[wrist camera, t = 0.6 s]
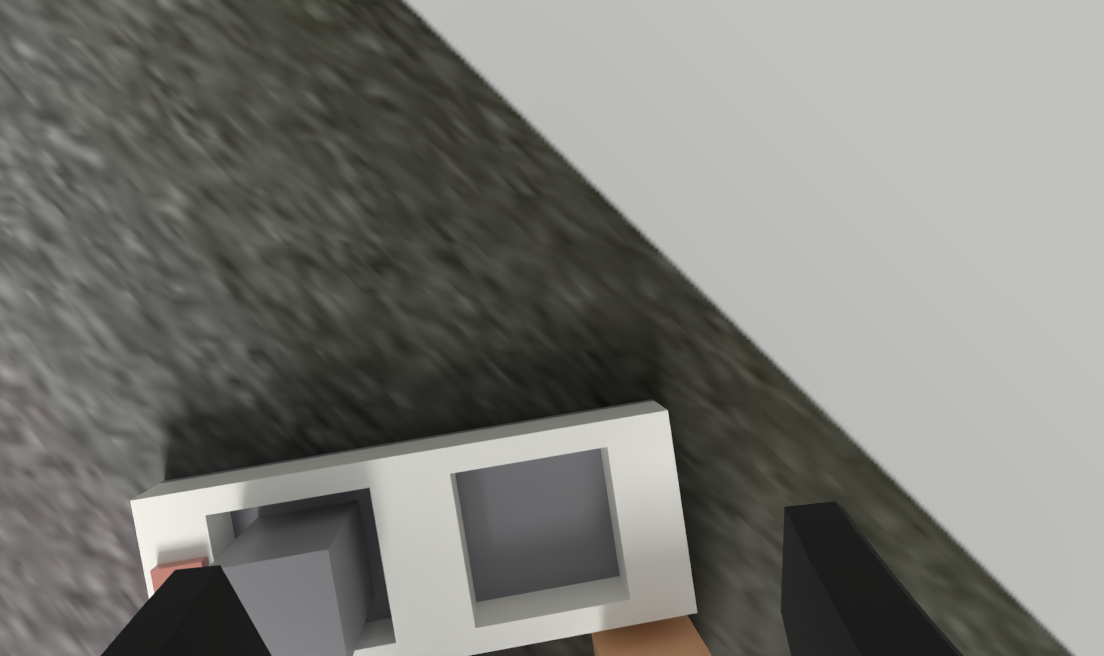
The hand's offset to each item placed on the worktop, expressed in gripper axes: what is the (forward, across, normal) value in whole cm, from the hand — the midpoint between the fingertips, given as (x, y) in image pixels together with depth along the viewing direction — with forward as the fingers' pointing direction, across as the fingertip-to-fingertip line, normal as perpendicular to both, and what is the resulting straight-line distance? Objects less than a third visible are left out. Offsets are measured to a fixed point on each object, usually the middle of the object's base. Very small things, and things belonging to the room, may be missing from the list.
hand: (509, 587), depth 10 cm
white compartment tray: (+16, +7, +16) cm, 24 cm away
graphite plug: (+15, +11, +16) cm, 24 cm away
